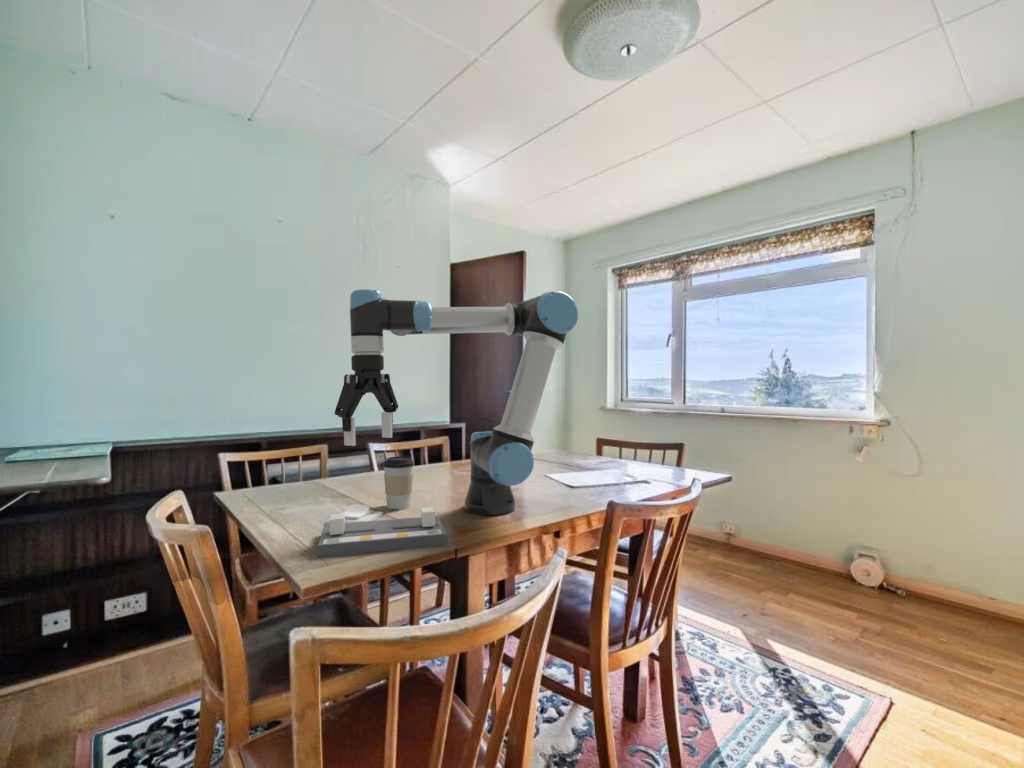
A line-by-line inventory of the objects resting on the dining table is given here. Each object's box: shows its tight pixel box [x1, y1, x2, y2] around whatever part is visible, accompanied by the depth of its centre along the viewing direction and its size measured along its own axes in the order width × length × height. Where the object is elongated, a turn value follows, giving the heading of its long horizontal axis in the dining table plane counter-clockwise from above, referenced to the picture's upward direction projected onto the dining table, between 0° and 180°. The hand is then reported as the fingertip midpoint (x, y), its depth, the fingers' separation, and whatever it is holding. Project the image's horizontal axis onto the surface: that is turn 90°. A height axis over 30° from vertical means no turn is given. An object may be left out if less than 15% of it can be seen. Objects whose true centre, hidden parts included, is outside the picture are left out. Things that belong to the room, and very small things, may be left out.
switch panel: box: [317, 515, 448, 558], centre depth 114 cm, size 28×15×3 cm, turn 106°
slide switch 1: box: [329, 513, 345, 535], centre depth 111 cm, size 3×4×4 cm
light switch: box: [325, 503, 384, 525], centre depth 130 cm, size 11×4×13 cm
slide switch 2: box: [420, 506, 436, 527], centre depth 116 cm, size 3×4×4 cm
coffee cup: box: [382, 454, 415, 510], centre depth 142 cm, size 9×9×15 cm
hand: (369, 441), depth 116 cm, fingers open, 13 cm apart
